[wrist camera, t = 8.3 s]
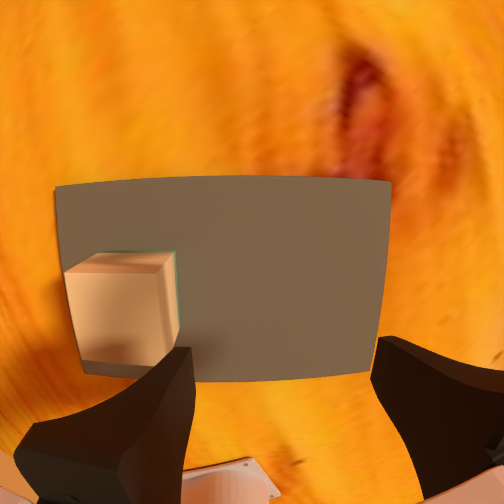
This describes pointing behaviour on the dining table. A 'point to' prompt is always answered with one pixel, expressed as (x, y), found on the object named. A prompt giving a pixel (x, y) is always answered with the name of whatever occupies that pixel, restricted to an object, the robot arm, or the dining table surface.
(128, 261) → the birch block
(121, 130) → the dining table surface
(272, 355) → the rubber mat
